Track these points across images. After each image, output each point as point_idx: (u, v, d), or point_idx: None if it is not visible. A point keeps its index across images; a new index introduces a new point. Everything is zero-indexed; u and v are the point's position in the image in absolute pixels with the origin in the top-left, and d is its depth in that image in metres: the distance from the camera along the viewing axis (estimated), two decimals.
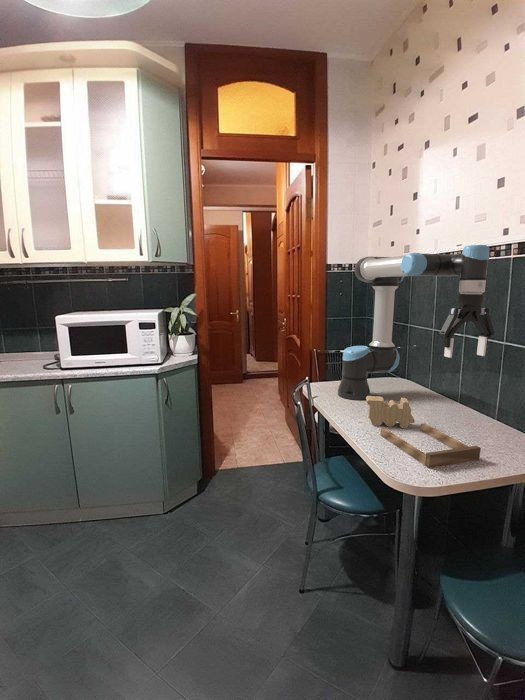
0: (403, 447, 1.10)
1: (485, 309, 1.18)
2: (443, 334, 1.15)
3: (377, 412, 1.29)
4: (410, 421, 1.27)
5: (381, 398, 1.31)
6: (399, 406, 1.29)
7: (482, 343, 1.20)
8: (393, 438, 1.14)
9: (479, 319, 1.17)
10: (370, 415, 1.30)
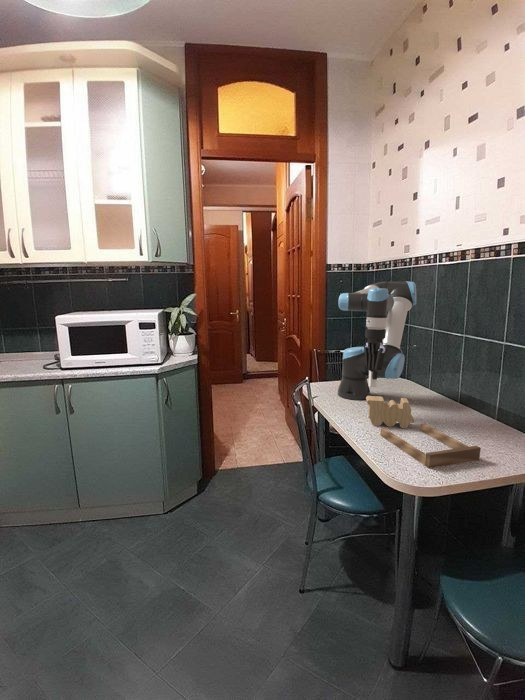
0: (403, 447, 1.10)
1: None
2: None
3: (377, 412, 1.29)
4: (410, 421, 1.27)
5: (381, 398, 1.31)
6: (399, 406, 1.29)
7: None
8: (393, 438, 1.14)
9: (372, 351, 1.37)
10: (370, 415, 1.30)
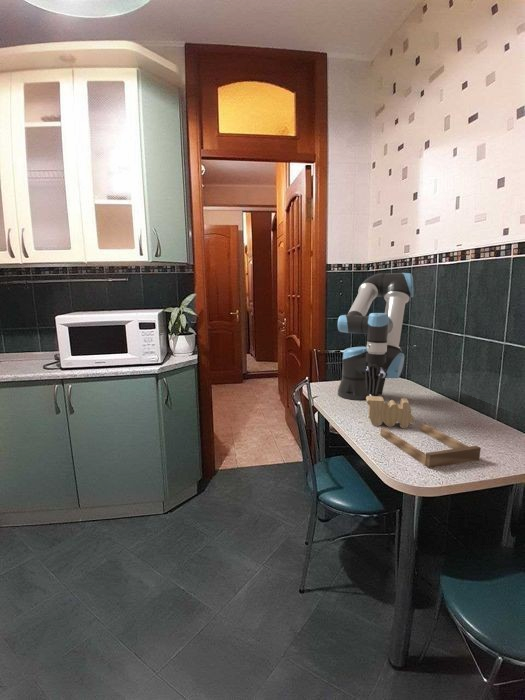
0: (403, 447, 1.10)
1: None
2: None
3: (377, 412, 1.29)
4: (410, 421, 1.27)
5: (381, 398, 1.31)
6: (399, 406, 1.29)
7: None
8: (393, 438, 1.14)
9: (372, 375, 1.37)
10: (370, 415, 1.30)
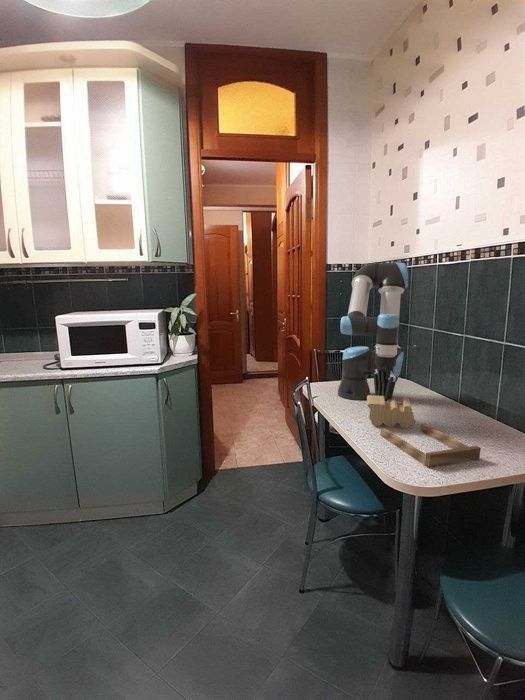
0: (403, 447, 1.10)
1: None
2: None
3: (377, 414, 1.27)
4: (411, 422, 1.26)
5: (382, 399, 1.28)
6: (400, 407, 1.27)
7: None
8: (393, 438, 1.14)
9: (382, 379, 1.31)
10: (370, 416, 1.28)
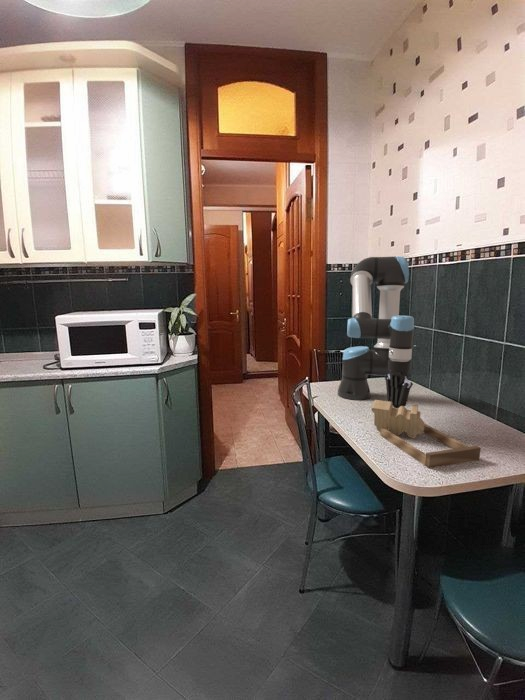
0: (403, 447, 1.10)
1: None
2: None
3: (382, 419, 1.22)
4: (418, 432, 1.17)
5: (388, 405, 1.22)
6: (408, 415, 1.19)
7: None
8: (393, 438, 1.14)
9: (395, 385, 1.24)
10: (375, 422, 1.23)
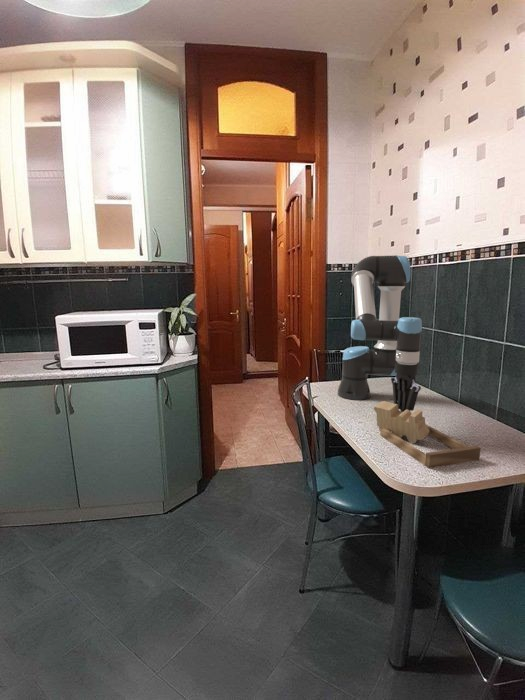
0: (403, 447, 1.10)
1: None
2: None
3: (383, 420, 1.21)
4: (417, 437, 1.13)
5: (392, 406, 1.20)
6: None
7: None
8: (393, 438, 1.14)
9: (402, 388, 1.20)
10: (378, 422, 1.23)
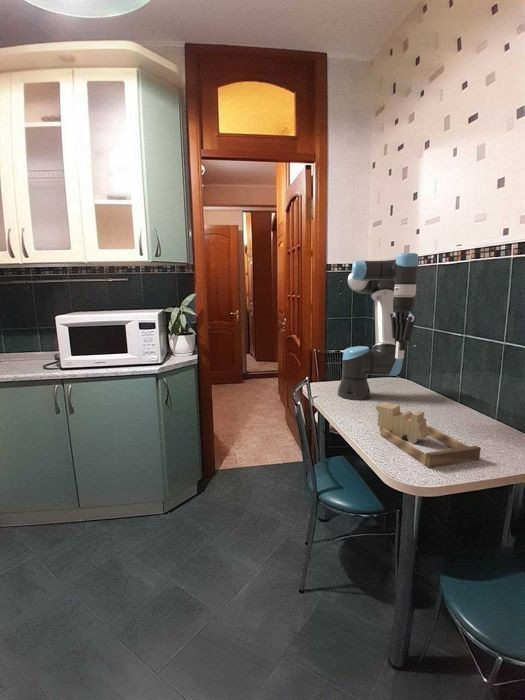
0: (403, 447, 1.10)
1: None
2: None
3: (385, 419, 1.21)
4: (418, 437, 1.14)
5: (394, 406, 1.22)
6: (411, 418, 1.17)
7: None
8: (393, 438, 1.14)
9: (400, 320, 1.30)
10: (378, 422, 1.23)
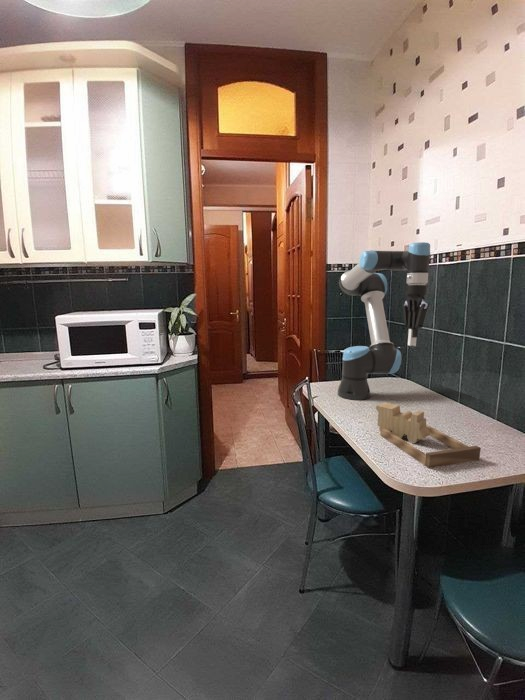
0: (403, 447, 1.10)
1: None
2: None
3: (385, 419, 1.21)
4: (418, 437, 1.14)
5: (394, 406, 1.22)
6: (411, 418, 1.17)
7: None
8: (393, 438, 1.14)
9: (412, 308, 1.34)
10: (378, 422, 1.23)
